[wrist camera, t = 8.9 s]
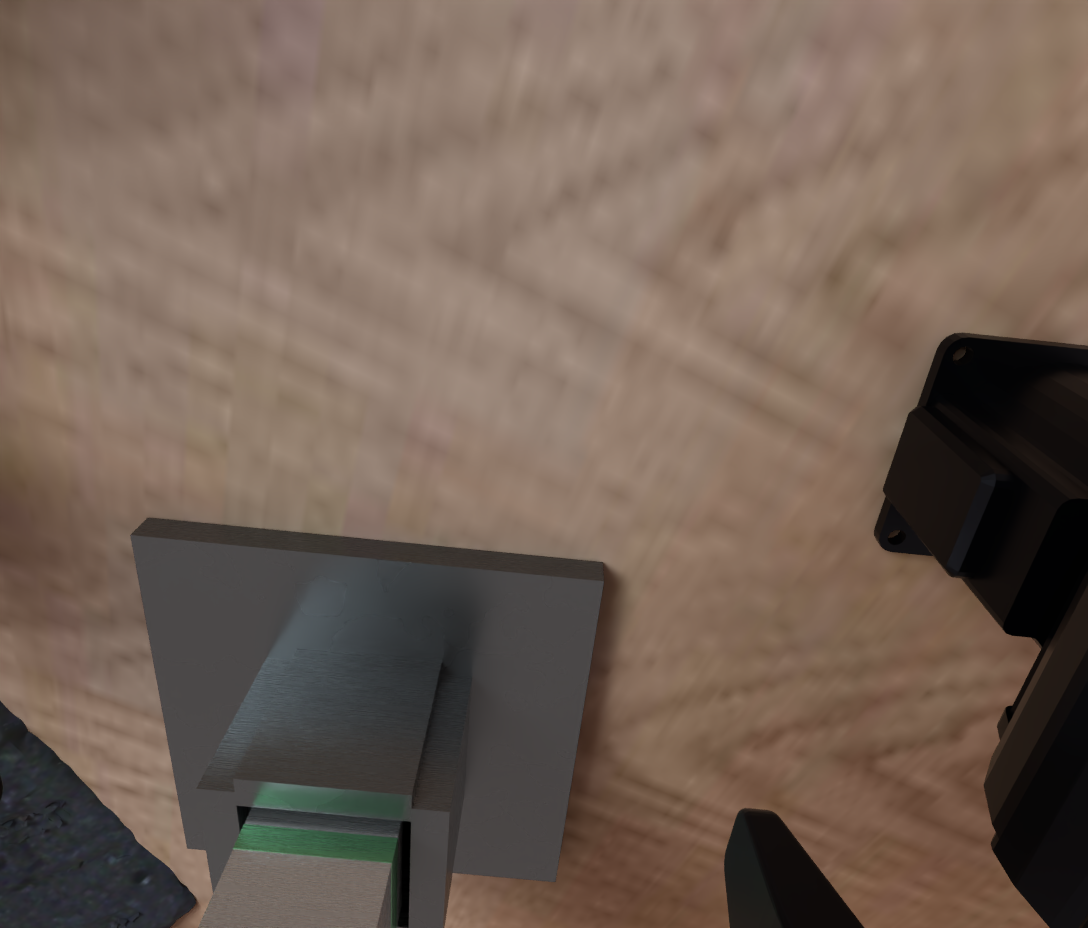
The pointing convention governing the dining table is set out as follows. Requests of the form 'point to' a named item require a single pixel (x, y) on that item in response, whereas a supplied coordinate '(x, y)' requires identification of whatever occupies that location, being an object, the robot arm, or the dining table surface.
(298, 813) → the column
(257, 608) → the stand
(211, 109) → the dining table surface
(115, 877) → the dark slate chunk
